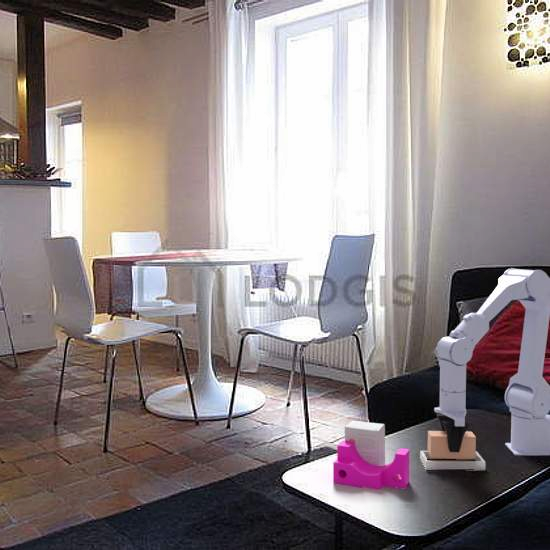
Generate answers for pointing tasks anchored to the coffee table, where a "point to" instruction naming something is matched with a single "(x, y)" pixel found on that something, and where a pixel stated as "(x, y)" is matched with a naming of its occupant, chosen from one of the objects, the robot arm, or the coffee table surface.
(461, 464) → the gray rectangular tray
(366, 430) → the small box
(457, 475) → the coffee table surface
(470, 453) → the peach rectangular prism
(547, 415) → the robot arm
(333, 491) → the coffee table surface
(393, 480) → the toy block
